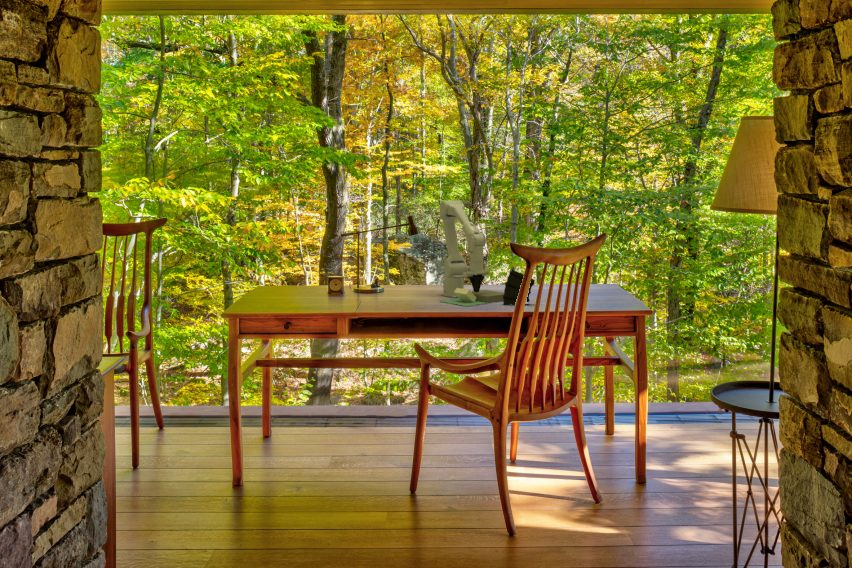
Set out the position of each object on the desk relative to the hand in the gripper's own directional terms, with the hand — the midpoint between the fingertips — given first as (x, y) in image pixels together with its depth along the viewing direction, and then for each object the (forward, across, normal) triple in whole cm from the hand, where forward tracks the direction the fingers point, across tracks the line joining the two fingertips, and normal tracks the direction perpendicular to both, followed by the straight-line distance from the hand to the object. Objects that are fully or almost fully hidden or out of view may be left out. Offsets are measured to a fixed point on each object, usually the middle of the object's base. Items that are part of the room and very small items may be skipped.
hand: (476, 292), depth 348 cm
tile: (+1, -7, 0) cm, 7 cm away
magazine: (+4, +7, -19) cm, 21 cm away
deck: (+4, +6, 0) cm, 7 cm away
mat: (+4, -8, 0) cm, 9 cm away
